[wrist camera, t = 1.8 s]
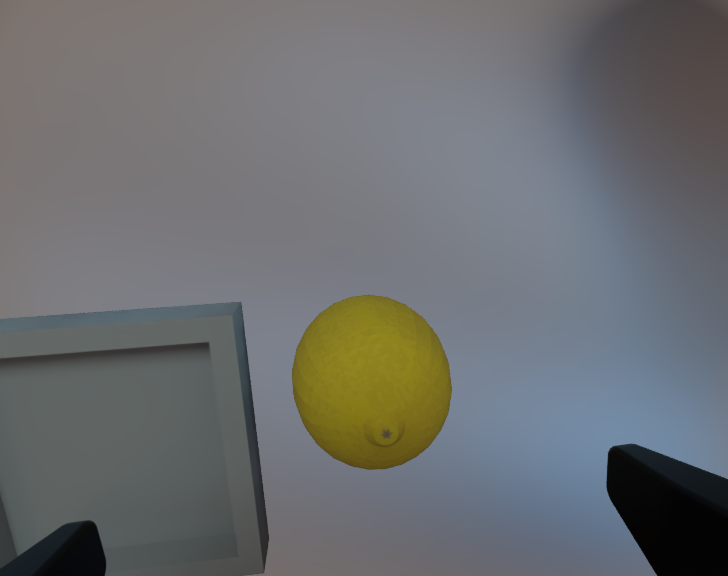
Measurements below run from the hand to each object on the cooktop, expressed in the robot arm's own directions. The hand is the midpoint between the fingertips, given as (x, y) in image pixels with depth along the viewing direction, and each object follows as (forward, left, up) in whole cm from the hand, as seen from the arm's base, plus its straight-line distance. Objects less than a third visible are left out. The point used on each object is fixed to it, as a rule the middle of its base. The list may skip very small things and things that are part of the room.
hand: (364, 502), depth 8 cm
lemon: (-1, -1, -12) cm, 12 cm away
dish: (-5, +10, -12) cm, 17 cm away
